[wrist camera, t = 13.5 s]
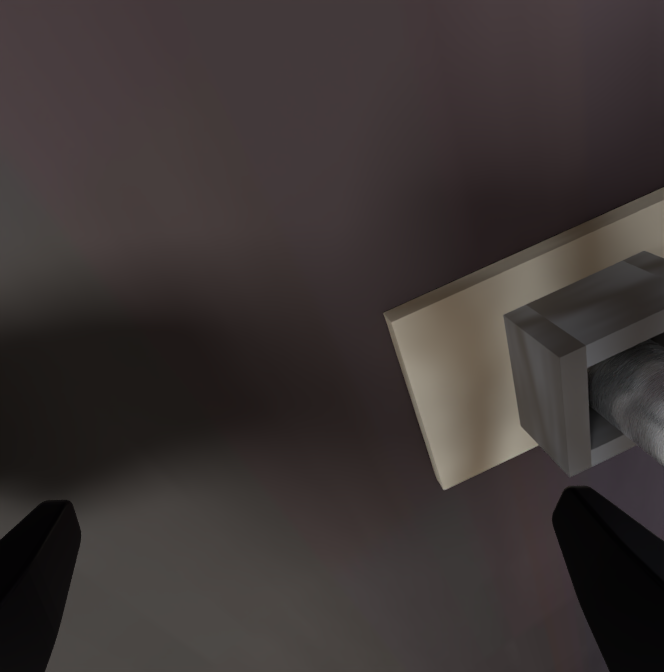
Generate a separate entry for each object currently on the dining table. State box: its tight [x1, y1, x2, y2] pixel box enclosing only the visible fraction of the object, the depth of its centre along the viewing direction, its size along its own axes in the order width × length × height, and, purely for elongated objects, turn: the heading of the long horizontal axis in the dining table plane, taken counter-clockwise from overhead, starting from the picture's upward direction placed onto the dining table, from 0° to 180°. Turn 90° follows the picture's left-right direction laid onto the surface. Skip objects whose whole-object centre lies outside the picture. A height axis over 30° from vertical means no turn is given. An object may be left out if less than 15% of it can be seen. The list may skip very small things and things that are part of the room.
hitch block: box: [384, 187, 664, 490], centre depth 24 cm, size 18×12×5 cm, turn 109°
